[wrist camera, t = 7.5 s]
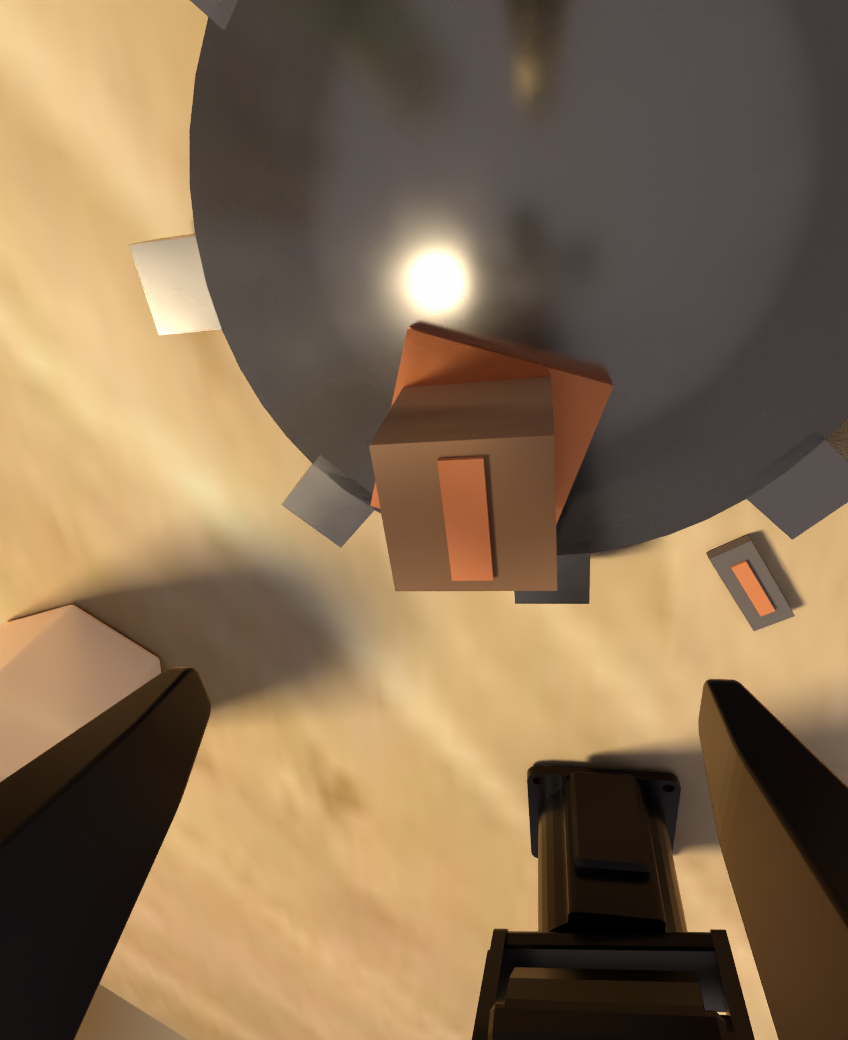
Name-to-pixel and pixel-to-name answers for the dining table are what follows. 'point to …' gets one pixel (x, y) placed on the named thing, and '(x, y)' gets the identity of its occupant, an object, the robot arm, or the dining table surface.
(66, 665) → the jar
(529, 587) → the link block
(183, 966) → the dining table surface
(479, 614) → the dining table surface
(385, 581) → the dining table surface
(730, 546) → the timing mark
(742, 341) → the sprocket
